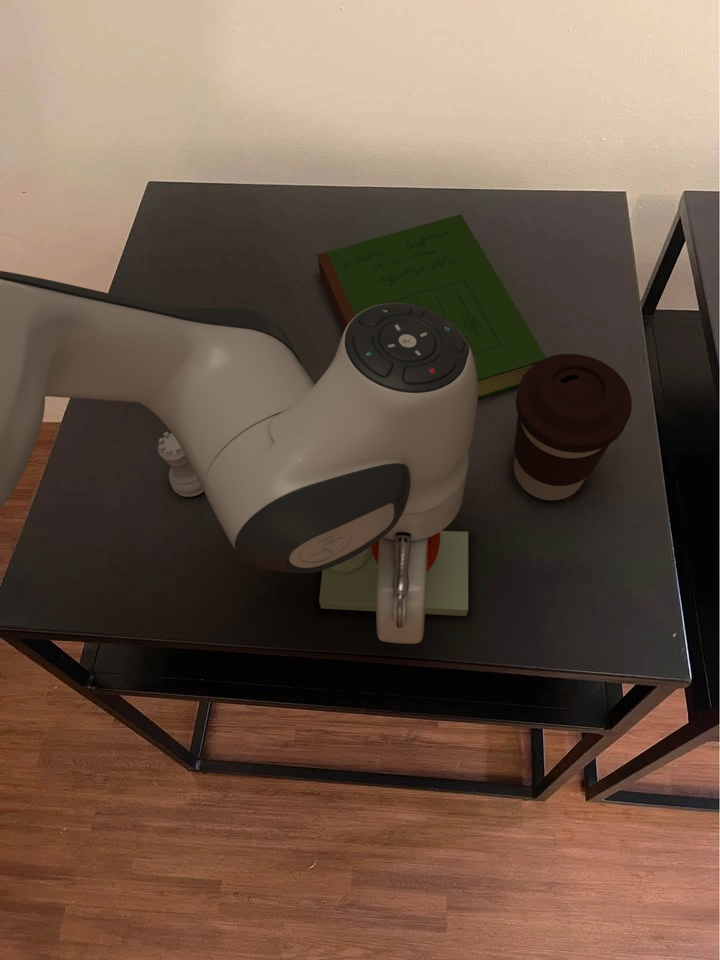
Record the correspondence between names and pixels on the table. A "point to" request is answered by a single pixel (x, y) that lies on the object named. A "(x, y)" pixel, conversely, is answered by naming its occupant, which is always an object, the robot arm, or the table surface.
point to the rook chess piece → (179, 467)
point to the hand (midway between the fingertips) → (405, 552)
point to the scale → (444, 586)
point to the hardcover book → (437, 293)
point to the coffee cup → (566, 422)
